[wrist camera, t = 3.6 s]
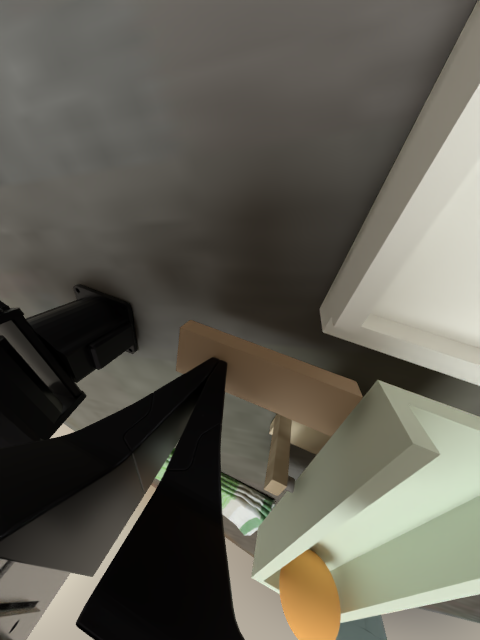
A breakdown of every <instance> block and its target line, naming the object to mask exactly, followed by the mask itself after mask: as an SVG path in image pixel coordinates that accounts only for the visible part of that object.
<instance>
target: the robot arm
mask: <svg viewBox="0 0 480 640" xmlns="http://www.w3.org/2000/svg"><path fill="white" fill-rule="evenodd" d="M74 291H75V295H76V298H77V300H76V301H73V302H70V303H68V304H65V305H62V306H59V307H56V308H54V309H51V310H48V311H45V312H43V313H40V314H37V315H34V316H32V317H29V318H26V319H25V318H24V316H23V315H24V313H23V312H22V311H21V310H20V308H9V306H7V305H5V304H4V303H3V302H1V301H0V640H26V639H27V638H28V636H29V635H30V633H31V632H32V630H33V628H34V627H35V625H36V624H37V623H38V621H39V620H40V618H41V617H42V615H43V613H44V612H45V610H46V609H47V607H48V606H49V604H50V603H51V601H52V600H53V598H54V597H55V595H56V594H57V592H58V591H59V589H60V588H61V586H62V585H63V583H64V582H65V580H66V579H67V577H68V576H69V574H70V573H75V574H80V575H85V576H90V577H93V575H94V574H95V572H96V571H97V569H98V568H99V566H100V564H101V563H102V561H103V560H104V558H105V556H106V555H107V554H108V552H109V550H110V549H111V547H112V545H113V544H114V542H115V541H116V539H117V538H118V536H119V534H120V533H121V531H122V530H123V528H124V526H125V525H126V523H127V522H128V520H129V518H130V517H131V515H132V514H133V512H134V511H135V509H136V507H137V506H138V504H139V503H140V501H141V500H142V498H143V496H144V494H145V493H146V492H147V490H148V488H149V487H150V485H151V484H152V482H153V480H154V479H155V477H156V476H157V474H158V473H159V471H160V469H161V468H162V466H163V465H164V463H165V461H166V460H167V458H168V457H169V455H170V453H171V452H172V450H173V449H174V447H175V446H176V444H177V442H178V441H179V442H178V444H177V446H176V448H175V451H174V453H173V455H172V457H171V459H170V461H169V464H168V466H167V468H166V471H165V473H164V475H163V477H162V479H161V481H160V483H159V485H158V487H157V489H156V491H155V492H154V494H153V496H152V497H151V499H150V500H149V502H148V504H147V505H146V507H145V508H144V510H143V512H142V514H141V515H140V517H139V518H138V520H137V521H136V523H135V525H134V526H133V528H132V530H131V531H130V533H129V534H128V536H127V538H126V539H125V541H124V543H123V544H122V546H121V547H120V549H119V551H118V553H117V554H116V556H115V558H114V559H113V561H112V562H111V564H110V565H109V567H108V569H107V570H106V572H105V573H104V575H103V577H102V578H101V580H100V582H99V583H98V585H97V586H96V588H95V590H94V591H93V593H92V595H91V596H90V598H89V600H88V602H87V603H86V605H85V606H84V608H83V610H82V612H81V614H80V616H79V618H78V620H77V622H76V625H77V627H78V628H79V629H81V630H82V631H83V632H85V633H86V634H87V635H89V636H90V637H92V638H93V639H94V640H245V639H244V638H243V636H242V634H241V632H240V630H239V628H238V625H237V622H236V619H235V614H234V608H233V601H232V593H231V585H230V577H229V570H228V561H227V553H226V545H225V537H224V528H223V516H222V493H221V460H220V446H221V431H222V419H223V408H224V397H225V385H226V374H227V362H225V361H223V360H220V359H218V358H215V357H211V358H210V359H208V360H206V361H205V362H203V363H201V364H200V365H198V366H196V367H195V368H193V369H191V370H190V371H188V372H186V373H185V374H183V375H181V376H180V377H178V378H176V379H175V380H173V381H171V382H170V383H168V384H166V385H165V386H163V387H161V388H160V389H158V390H156V391H155V392H154V393H151V394H149V395H148V396H146V397H144V398H143V399H141V400H139V401H137V402H136V403H134V404H132V405H130V406H128V407H126V408H124V409H122V410H120V411H118V412H116V413H114V414H112V415H110V416H108V417H106V418H104V419H102V420H100V421H97V422H95V423H93V424H91V425H89V426H87V427H85V428H83V429H81V430H78V431H76V432H74V433H71V434H68V435H64V436H61V437H57V438H51V439H50V437H51V436H52V435H53V434H54V433H55V432H56V431H57V429H58V428H59V427H60V426H61V425H62V424H63V423H64V421H65V420H66V419H67V418H68V417H69V416H70V415H71V413H72V412H73V411H74V410H75V409H76V408H77V407H78V406H79V404H80V403H81V402H82V401H83V400H84V399H85V398H86V394H85V393H84V392H83V391H81V390H80V389H79V387H78V386H77V385H76V384H75V382H76V383H77V382H79V381H80V380H81V379H83V378H84V377H86V376H87V375H88V374H90V373H91V372H92V371H94V370H95V369H97V370H100V369H101V368H103V367H104V366H106V365H107V364H108V363H110V362H111V361H112V360H114V359H115V358H117V357H118V356H119V355H121V354H122V353H123V352H125V351H126V352H129V353H131V354H134V353H135V352H136V351H137V346H136V339H135V331H134V324H133V317H132V310H131V306H130V304H129V303H127V302H125V301H122V300H120V299H117V298H115V297H112V296H109V295H107V294H104V293H101V292H99V291H96V290H93V289H91V288H88V287H85V286H83V285H80V284H79V285H75V286H74ZM179 439H180V440H179Z"/></svg>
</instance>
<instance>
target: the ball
mask: <svg viewBox="0 0 480 640" xmlns="http://www.w3.org/2000/svg"><path fill="white" fill-rule="evenodd" d="M279 589H280V598H281V603H282V607H283V611H284V614H285V617H286V619H287V622H288V624H289V626H290V628H291V630H292V631H293V632H294V634H295V636H296V637H297V638H298V639H299V640H336V637H337V635H338V632H339V628H340V620H341V609H340V600H339V595H338V591H337V588H336V584H335V582H334V579H333V577H332V575H331V573H330V571H329V569H328V567H327V566H326V564H325V563H324V561H323V560H322V559H321V558H320V557H319V556H318V555H317V554H316V553H315V552H313V551H312V550H310V549H308V550H306V551H305V552H303V553H302V554H300V555H299V556H298V557H296V558H295V559H293V560H292V561H291V562H289V563H288V564H286V565H285V566H284V567H282V568H281V571H280V578H279Z"/></svg>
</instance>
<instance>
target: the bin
mask: <svg viewBox="0 0 480 640" xmlns="http://www.w3.org/2000/svg"><path fill="white" fill-rule="evenodd" d="M319 310H320V317H321V324H322V331H323V333H326V334H329V335H332V336H335V337H338V338H341V339H344V340H347V341H350V342H353V343H355V344H358V345H361V346H364V347H367V348H370V349H373V350H376V351H379V352H382V353H385V354H388V355H391V356H394V357H396V358H399V359H402V360H405V361H408V362H411V363H414V364H417V365H420V366H423V367H426V368H429V369H432V370H435V371H438V372H440V373H443V374H446V375H449V376H452V377H455V378H458V379H461V380H464V381H467V382H470V383H473V384H476V385H479V386H480V0H478V1H477V3H476V5H475V7H474V9H473V11H472V13H471V14H470V16H469V18H468V20H467V22H466V24H465V26H464V28H463V30H462V32H461V34H460V36H459V38H458V40H457V42H456V44H455V46H454V48H453V50H452V52H451V53H450V55H449V57H448V59H447V61H446V63H445V65H444V67H443V69H442V71H441V73H440V75H439V77H438V79H437V81H436V83H435V85H434V87H433V89H432V90H431V92H430V94H429V96H428V98H427V100H426V102H425V104H424V106H423V108H422V110H421V112H420V114H419V116H418V118H417V120H416V122H415V124H414V126H413V128H412V129H411V131H410V133H409V135H408V137H407V139H406V141H405V143H404V145H403V147H402V149H401V151H400V153H399V155H398V157H397V159H396V161H395V163H394V165H393V167H392V168H391V170H390V172H389V174H388V176H387V178H386V180H385V182H384V184H383V186H382V188H381V190H380V192H379V194H378V196H377V198H376V200H375V202H374V204H373V205H372V207H371V209H370V211H369V213H368V215H367V217H366V219H365V221H364V223H363V225H362V227H361V229H360V231H359V233H358V235H357V237H356V239H355V241H354V243H353V244H352V246H351V248H350V250H349V252H348V254H347V256H346V258H345V260H344V262H343V264H342V266H341V268H340V270H339V272H338V274H337V276H336V278H335V280H334V282H333V283H332V285H331V287H330V289H329V291H328V293H327V295H326V297H325V299H324V301H323V303H322V305H321V307H320V309H319Z"/></svg>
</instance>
